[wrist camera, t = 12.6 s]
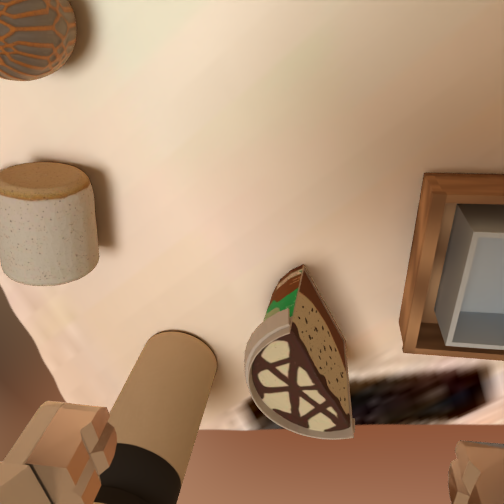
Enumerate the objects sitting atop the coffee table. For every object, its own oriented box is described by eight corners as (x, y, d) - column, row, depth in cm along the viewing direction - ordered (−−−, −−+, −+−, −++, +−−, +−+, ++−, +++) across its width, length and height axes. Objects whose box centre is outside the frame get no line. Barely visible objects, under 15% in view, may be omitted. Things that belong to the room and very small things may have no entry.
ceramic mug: (107, 164, 36) (56, 202, 30) (114, 248, 40) (70, 297, 34) (-11, 145, 37) (-86, 178, 31) (8, 229, 41) (-54, 273, 35)
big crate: (422, 172, 32) (432, 194, 29) (593, 175, 31) (626, 199, 27) (397, 321, 40) (403, 352, 36) (534, 331, 38) (554, 364, 34)
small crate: (456, 203, 33) (473, 231, 29) (544, 205, 32) (573, 235, 28) (433, 309, 38) (445, 345, 34) (508, 314, 37) (529, 351, 33)
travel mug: (130, 341, 46) (31, 514, 31) (191, 319, 43) (115, 498, 28) (171, 391, 49) (100, 571, 34) (231, 374, 46) (182, 562, 31)
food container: (235, 273, 40) (208, 350, 31) (296, 250, 37) (285, 326, 29) (294, 366, 44) (285, 455, 36) (351, 351, 42) (356, 441, 34)
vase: (41, 87, 34) (-42, 114, 26) (-21, -7, 31) (-133, -5, 23) (110, 44, 31) (41, 61, 24) (50, -61, 28) (-50, -79, 21)
